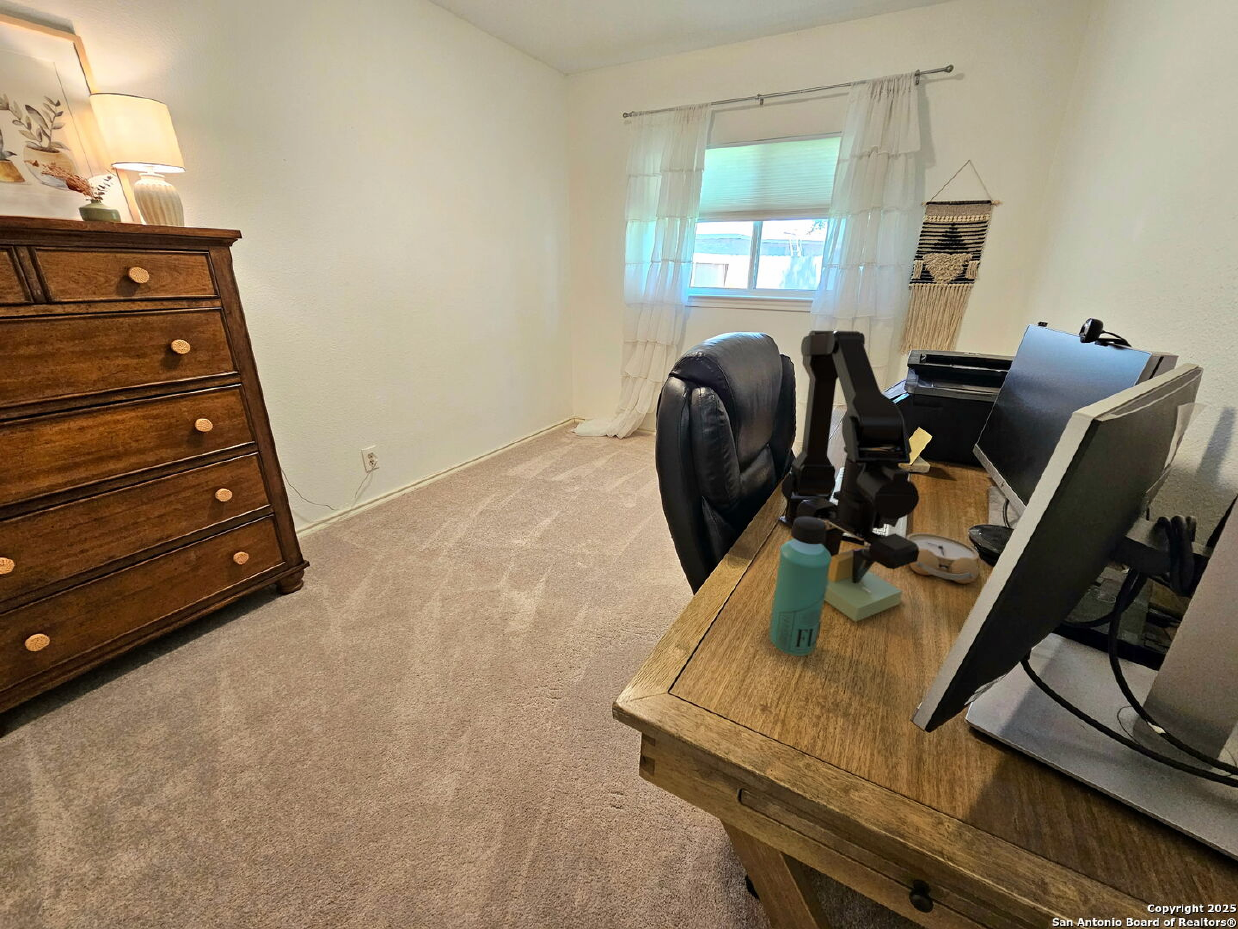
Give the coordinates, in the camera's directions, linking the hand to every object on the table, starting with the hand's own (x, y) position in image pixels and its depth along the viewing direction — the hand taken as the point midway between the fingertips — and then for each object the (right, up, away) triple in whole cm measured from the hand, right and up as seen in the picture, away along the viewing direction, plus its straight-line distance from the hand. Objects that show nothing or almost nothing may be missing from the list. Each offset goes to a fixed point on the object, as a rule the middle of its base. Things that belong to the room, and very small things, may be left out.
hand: (843, 574), depth 80 cm
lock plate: (0, -3, +1) cm, 3 cm away
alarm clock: (+20, 0, +7) cm, 21 cm away
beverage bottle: (-13, -8, -12) cm, 20 cm away
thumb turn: (0, 0, 0) cm, 0 cm away
